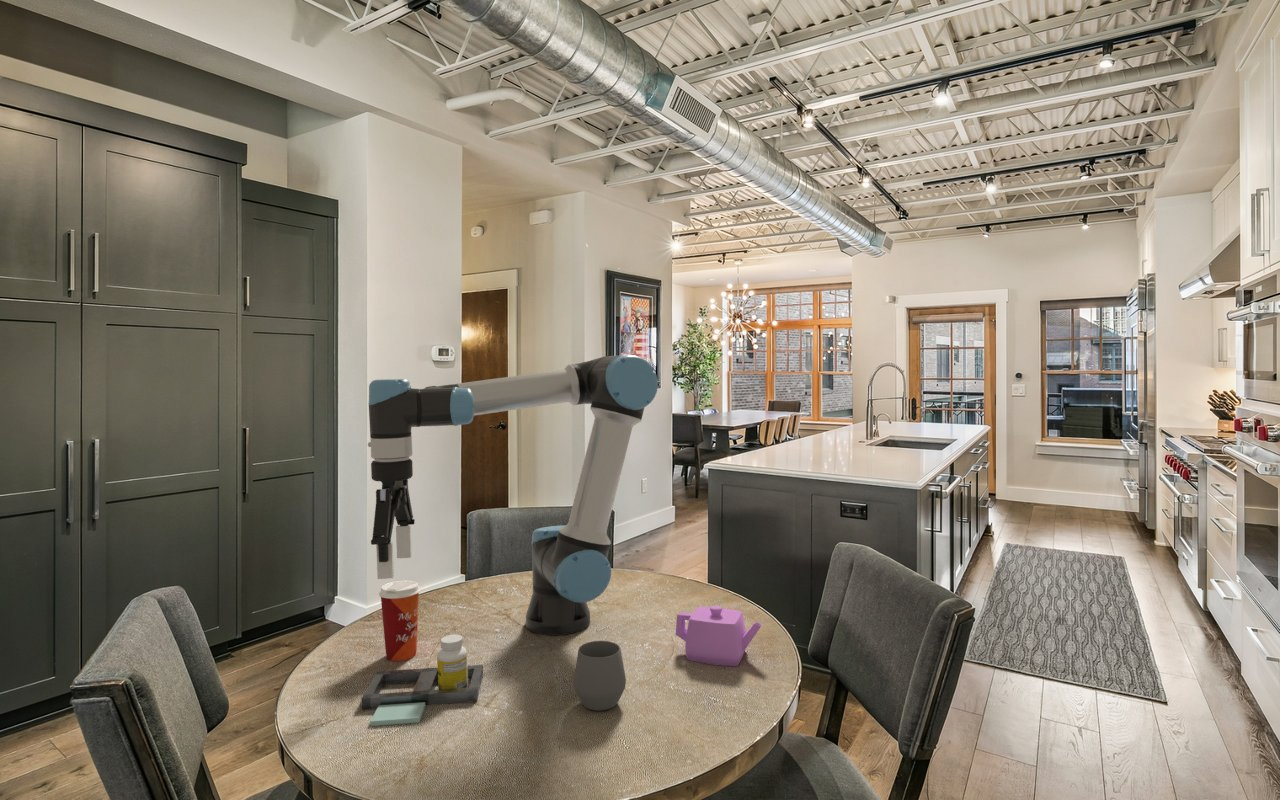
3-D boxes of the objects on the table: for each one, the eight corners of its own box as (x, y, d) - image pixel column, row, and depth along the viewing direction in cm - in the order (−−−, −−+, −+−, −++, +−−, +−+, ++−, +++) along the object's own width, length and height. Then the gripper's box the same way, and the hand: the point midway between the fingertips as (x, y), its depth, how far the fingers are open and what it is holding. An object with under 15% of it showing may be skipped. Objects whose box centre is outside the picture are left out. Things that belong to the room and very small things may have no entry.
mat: (425, 706, 121) (425, 702, 121) (419, 722, 116) (419, 717, 116) (378, 709, 120) (378, 705, 120) (370, 726, 114) (370, 721, 114)
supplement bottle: (441, 683, 130) (440, 633, 130) (470, 682, 130) (469, 632, 130) (435, 697, 125) (434, 644, 124) (465, 695, 125) (464, 643, 125)
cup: (577, 691, 126) (576, 638, 126) (627, 691, 126) (626, 638, 126) (570, 716, 117) (569, 660, 117) (624, 717, 117) (623, 660, 116)
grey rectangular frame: (483, 674, 134) (482, 664, 133) (477, 701, 123) (476, 690, 123) (377, 681, 131) (377, 671, 131) (361, 709, 120) (361, 698, 120)
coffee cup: (408, 665, 138) (407, 592, 138) (372, 662, 140) (370, 590, 139) (429, 648, 146) (428, 580, 146) (395, 645, 148) (393, 578, 147)
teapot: (765, 651, 144) (765, 603, 143) (756, 672, 134) (756, 621, 133) (683, 640, 150) (683, 595, 149) (669, 660, 140) (669, 611, 139)
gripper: (389, 451, 143) (392, 550, 144) (350, 468, 118) (354, 588, 119) (425, 450, 144) (428, 549, 145) (394, 467, 119) (398, 586, 120)
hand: (395, 567), depth 132 cm, fingers open, 13 cm apart
